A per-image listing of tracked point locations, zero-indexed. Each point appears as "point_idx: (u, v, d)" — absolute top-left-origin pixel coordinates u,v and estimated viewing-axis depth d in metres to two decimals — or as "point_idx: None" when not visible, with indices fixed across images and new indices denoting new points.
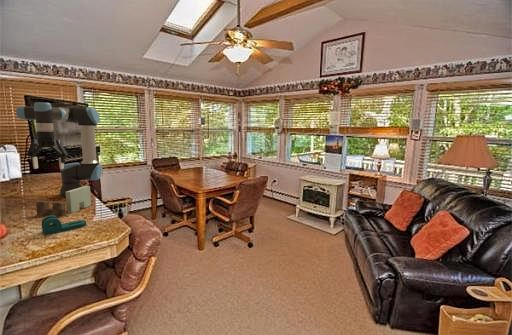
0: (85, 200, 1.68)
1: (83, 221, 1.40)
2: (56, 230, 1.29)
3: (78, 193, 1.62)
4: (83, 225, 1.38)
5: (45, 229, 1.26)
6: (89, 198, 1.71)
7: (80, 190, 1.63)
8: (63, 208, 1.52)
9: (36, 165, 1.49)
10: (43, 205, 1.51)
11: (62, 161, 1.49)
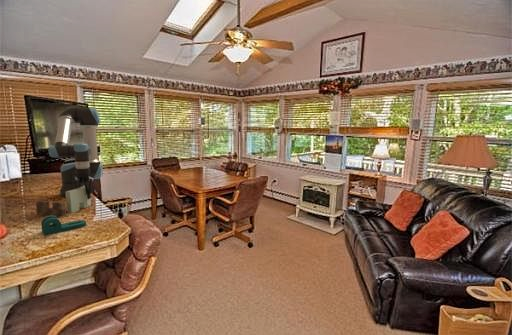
0: (85, 200, 1.68)
1: (83, 221, 1.40)
2: (55, 230, 1.29)
3: (78, 193, 1.62)
4: (83, 225, 1.37)
5: (45, 229, 1.26)
6: None
7: (80, 190, 1.63)
8: (63, 208, 1.52)
9: None
10: (43, 205, 1.51)
11: (88, 197, 1.68)
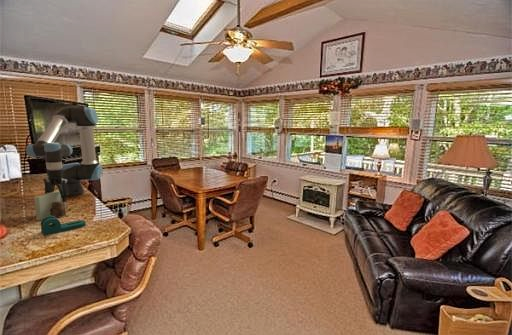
0: None
1: (82, 221, 1.39)
2: (55, 230, 1.28)
3: (49, 198, 1.49)
4: (82, 225, 1.37)
5: (44, 229, 1.25)
6: None
7: (52, 195, 1.51)
8: (63, 208, 1.52)
9: None
10: None
11: (63, 200, 1.56)
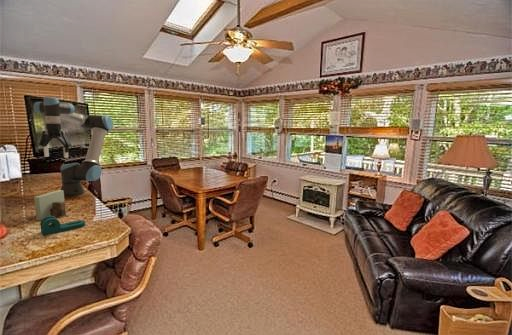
0: None
1: (82, 221, 1.39)
2: (54, 230, 1.28)
3: (49, 198, 1.49)
4: (82, 225, 1.37)
5: (44, 229, 1.25)
6: None
7: (52, 195, 1.51)
8: (63, 208, 1.52)
9: (47, 154, 1.67)
10: None
11: (66, 151, 1.64)
